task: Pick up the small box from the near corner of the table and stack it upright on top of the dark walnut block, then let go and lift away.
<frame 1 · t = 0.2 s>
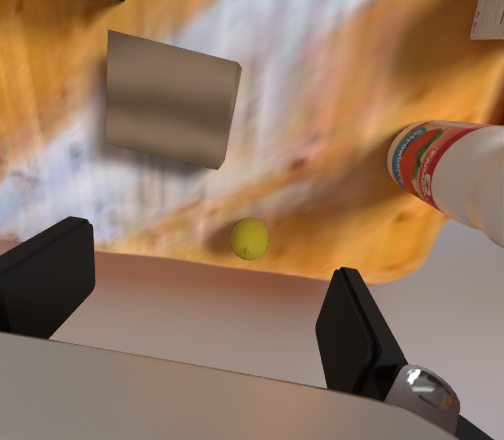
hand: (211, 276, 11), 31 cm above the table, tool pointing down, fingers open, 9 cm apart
lemon: (251, 226, 44), on the table
walnut block: (181, 105, 38), on the table
fruit juice: (419, 155, 39), on the table
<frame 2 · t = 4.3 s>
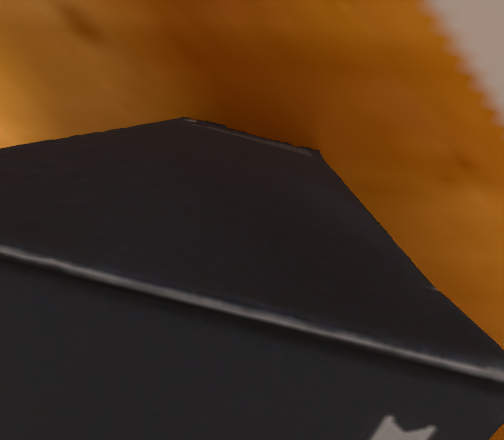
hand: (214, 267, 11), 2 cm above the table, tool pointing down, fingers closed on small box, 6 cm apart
small box: (223, 240, 14), on the table, touching gripper
when the fingers open (10 cm above the table, at t = 10.7 s): small box drops 2 cm, resting on walnut block.
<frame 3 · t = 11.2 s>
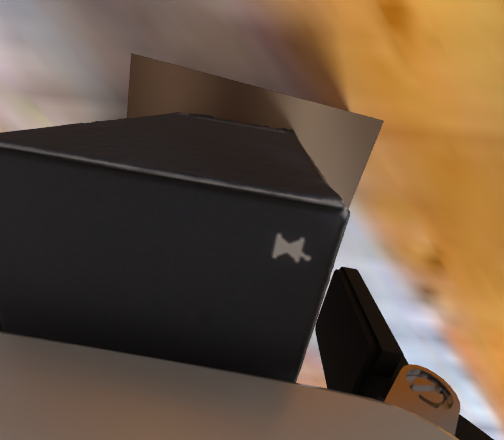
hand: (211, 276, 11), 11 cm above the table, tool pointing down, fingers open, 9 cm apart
walnut block: (238, 191, 21), on the table, touching small box
small box: (221, 217, 16), point 5 cm above the table, touching walnut block
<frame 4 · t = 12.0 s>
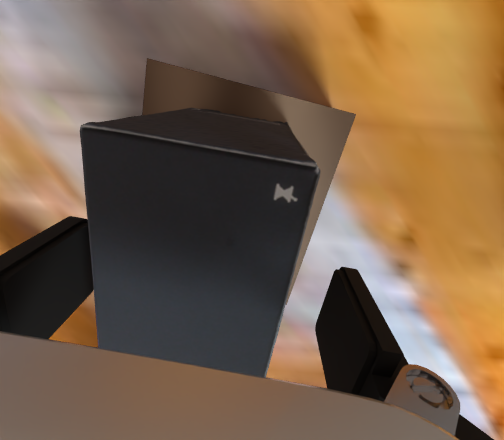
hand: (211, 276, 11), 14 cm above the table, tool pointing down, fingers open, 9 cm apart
walnut block: (236, 178, 24), on the table
small box: (226, 197, 18), point 5 cm above the table
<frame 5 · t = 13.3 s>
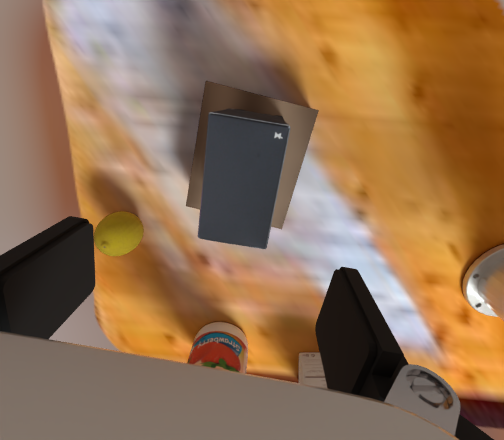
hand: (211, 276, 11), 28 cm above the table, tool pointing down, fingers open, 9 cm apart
lemon: (133, 221, 42), on the table
supplement box: (318, 365, 51), on the table
walnut block: (250, 153, 37), on the table, touching small box
small box: (247, 160, 32), point 5 cm above the table, touching walnut block
fruit juice: (222, 340, 50), on the table
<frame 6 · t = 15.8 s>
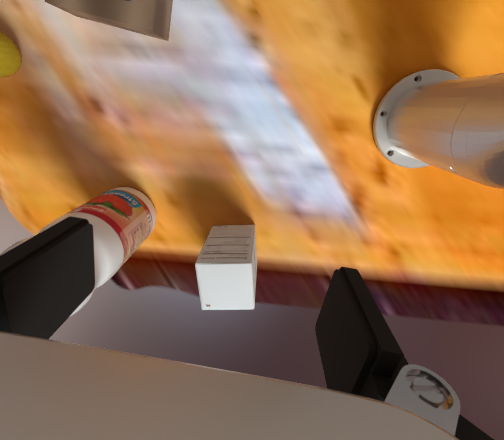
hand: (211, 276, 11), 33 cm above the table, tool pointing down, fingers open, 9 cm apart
lemon: (16, 57, 39), on the table
supplement box: (235, 242, 48), on the table
fruit juice: (130, 212, 47), on the table
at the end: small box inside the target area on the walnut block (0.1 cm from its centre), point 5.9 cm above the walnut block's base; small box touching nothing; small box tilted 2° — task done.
